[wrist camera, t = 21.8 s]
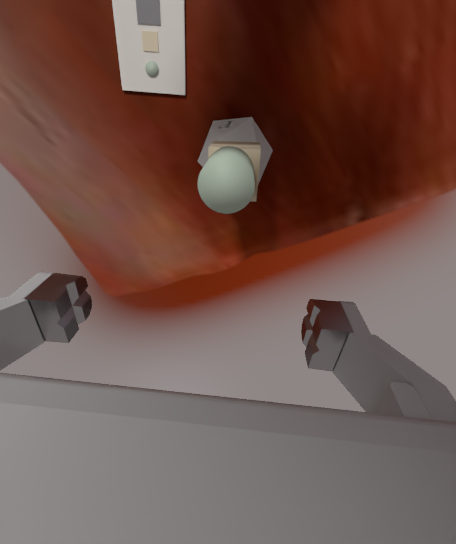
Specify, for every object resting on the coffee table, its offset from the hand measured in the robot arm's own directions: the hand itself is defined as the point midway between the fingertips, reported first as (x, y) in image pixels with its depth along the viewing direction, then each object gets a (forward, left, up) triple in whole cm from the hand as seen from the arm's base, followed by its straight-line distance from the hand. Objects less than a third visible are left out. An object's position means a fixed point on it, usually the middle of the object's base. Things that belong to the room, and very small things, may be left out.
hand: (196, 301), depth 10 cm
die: (0, 0, -33) cm, 33 cm away
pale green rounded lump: (0, 0, -20) cm, 21 cm away
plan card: (-11, -11, -33) cm, 37 cm away
